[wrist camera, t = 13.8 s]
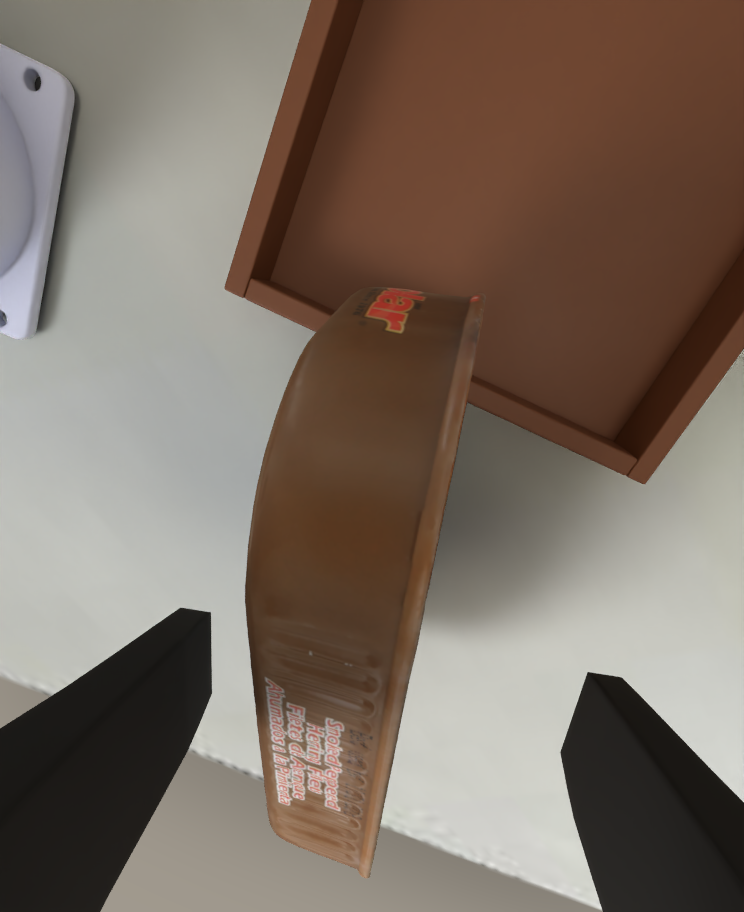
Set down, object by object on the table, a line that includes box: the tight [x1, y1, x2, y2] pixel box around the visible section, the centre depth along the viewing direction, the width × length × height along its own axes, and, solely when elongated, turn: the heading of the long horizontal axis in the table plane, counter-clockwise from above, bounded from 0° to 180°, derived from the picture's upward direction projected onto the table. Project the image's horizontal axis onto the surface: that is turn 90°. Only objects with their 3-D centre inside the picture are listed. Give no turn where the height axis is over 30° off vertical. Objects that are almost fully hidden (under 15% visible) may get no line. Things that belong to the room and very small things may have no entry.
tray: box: [225, 0, 744, 484], centre depth 11 cm, size 13×19×2 cm
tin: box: [245, 287, 486, 878], centre depth 11 cm, size 15×3×8 cm, turn 173°
